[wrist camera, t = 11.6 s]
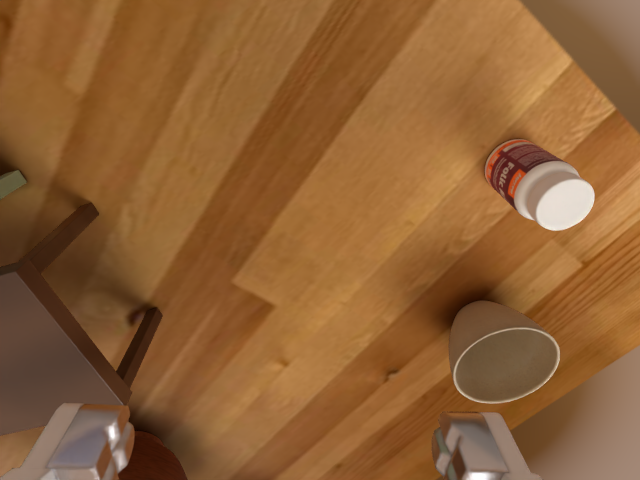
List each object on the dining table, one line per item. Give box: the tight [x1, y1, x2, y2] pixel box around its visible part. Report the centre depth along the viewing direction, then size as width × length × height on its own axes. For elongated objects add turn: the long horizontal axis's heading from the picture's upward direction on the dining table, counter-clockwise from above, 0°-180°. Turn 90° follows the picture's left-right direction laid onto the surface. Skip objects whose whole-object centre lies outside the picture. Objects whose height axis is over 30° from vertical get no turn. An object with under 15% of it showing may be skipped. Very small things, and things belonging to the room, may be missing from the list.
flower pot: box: [449, 301, 560, 403], centre depth 40 cm, size 10×10×7 cm
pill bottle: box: [485, 139, 594, 230], centre depth 31 cm, size 5×5×8 cm
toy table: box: [0, 203, 162, 436], centre depth 34 cm, size 14×18×11 cm
